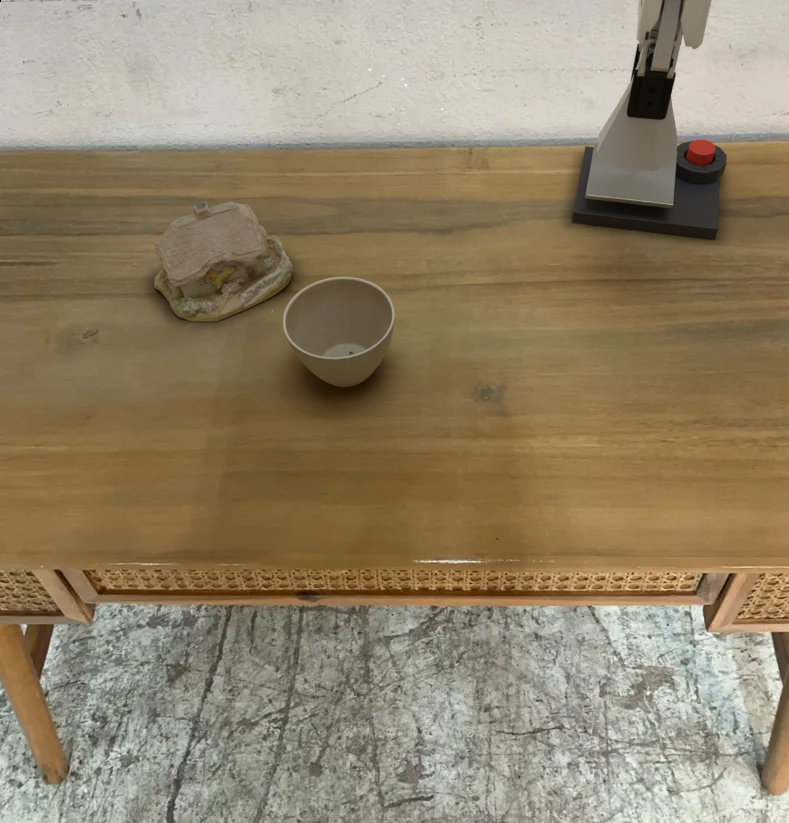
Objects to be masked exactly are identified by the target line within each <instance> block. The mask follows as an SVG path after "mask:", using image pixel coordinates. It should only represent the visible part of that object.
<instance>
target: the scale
mask: <svg viewBox="0 0 789 823" xmlns="http://www.w3.org/2000/svg"><path fill="white" fill-rule="evenodd" d="M692 141H693V140H690V141H689V140H688V141H685V142H680V143H679V145H677V161H676V175H675V188H674V202H673V208H665V207H656V206H647V205H638V204H630V203H621V202H612V201H604V200H595V199H586V198H585V196H586V190H587V185H588V179H589V173H590V167H591V161H592V156H593V150H594V146H589V145H588V146H587V145H585V146H584V152H583V155H582V156H583V157H582V163H581V168H580V172H579V173H580V174H579V179H578V184H577V188H576V195H575V201H574V206H573V212H572V217H571V223H574V224H575V223H576V224H584V225H593V226H601V227H610V228H616V229H625V230H633V231H642V232H650V233H658V234H659V233H660V234H667V235H675V236H683V237H691V238H701V239H707V240H715V239H716V237H717V234H718V230H719V208H720V203H719V202H720V178H721V177H722V176H724V173H725V169H726V167H727V160H728V159H727V158H728V155H727V154H726V152H725V151H724V150H723V149H722V148H721V147H720V146H718V145H716V144H714V145H715V147H716V150H715V153H714V157H713V160H712V162H711V163H710V164H709V165H706V166H700V165H694V164H692V163H690V162H688V161H687V160H686V155H687V152H688V148H689V145H690V143H691V142H692Z"/></svg>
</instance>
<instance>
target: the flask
mask: <svg viewBox="0 0 789 823" xmlns="http://www.w3.org/2000/svg"><path fill="white" fill-rule="evenodd" d="M651 33H658V31H651ZM638 44H639V51H640V52H642V47H643V45H642V44H641V43H640V42H639V41H638ZM654 51H655V47H654V46H650V50H649V55H650V53H654ZM649 55H648V56H649ZM640 58H641V53H640ZM640 58H639V62H638V64H637V67H636V69H638V68H639V63H640ZM633 76H634V75H633ZM630 81H631V82H629V83H628V85H627V87H626V89H625V91H624V93H623V94H622V96H621V97H620V99H619V101H618V103H617V104H616V106H615V108H614V109H613V110H612V112H611V113H610V116H609V117H608V119H607V120H606V122H605V123H604V126H603V127H602V129H601V130H600V132H599V133H598V139H597V145H598V146H597V153H596V154H598V155H600V156H601V157H603V158H605V159H607V160H609V161H610V162H612V163H614V164H616V165H617V166H619V167H621V168H627V169H638V170H649V171H656V170H658V169H659V168H661V167H662V166H664V165H665V164H667V163H668V162H670V161H671V160H673V159H674V158H676V157H677V146H678V132H677V125H676V120H675V114H674V108H673V100H672V99H673V98H672V97H671V98H670V102H669V106H668V111H667V115H666V118H665V119H663V120H655V119H643V118H632V117H628V116H627V107H628V102H629V97H630V92H631V86H632V81H633V77H632V80H631V79H630Z"/></svg>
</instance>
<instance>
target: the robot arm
mask: <svg viewBox="0 0 789 823" xmlns="http://www.w3.org/2000/svg"><path fill="white" fill-rule="evenodd" d="M711 5H712V0H638V4H637V24H636V28H637V29H636V40H637V41H638V43H637V44H636V50H635V55H634V60H633V66H632V70H631V76H630V80H629V81H630V82H631V80H632V77H633V81H632V86H631V92H630V97H629V102H628V107H627V116H628V117H632V118H643V119H655V120H663V119H665V118H666V115H667V111H668V106H669V102H670V98H671V99H672V93H673V90H674V85H675V80H676V76H677V72H676V67H677V63H678V59H679V58H678V57H679V55H680V54H679V53H680V49H681V46H682V42H683V41H684V45H685V47H687V48H692V50H696V49H698V48H699V47H701V46H702V44H703V42H704V38H705V37H704V36H705V32H706V28H707V24H708V23H707V22H708V19H709V18H708V17H709V14H710V9H711ZM651 31H658V33H651ZM682 40H683V41H682ZM639 42H640V43H641V44H642V45H643V47H642V52H640V51H639ZM650 46H654V47H655V51H654V53H650V55H649V50H650ZM640 53H641V58H640ZM648 55H649V56H648ZM639 58H640V63H639V68H638V69H636V67H637V64H638V62H639ZM633 75H634V76H633ZM630 82H629V83H630Z"/></svg>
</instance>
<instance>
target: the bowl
mask: <svg viewBox="0 0 789 823" xmlns="http://www.w3.org/2000/svg"><path fill="white" fill-rule="evenodd" d="M289 300H290V301H289V302H288V303H287V305H286V306H285V309H284V312H283V316H282V329H283V332H284V335H285V338H286V339H287V342H288V344H289V346H290V347H291V349H292V351H293V352H294V353H295V355H296V357H297V358H298V359H299V361H300V362H301V364H303V366H305V368H307V369H308V371H310V372H311V373H312V374H313V375H314V376H316V377H317V378H318V379H319V380H321V381H323V382H325V383H328V384H330V385H332V386H333V387H339V388H351V387H354V386H357V385H360V384H362V383H363V382H364V381H366V380H368V378H369V377H370V376H372V375H373V373H374V372H375V371H376V369H377V368H378V367H379V366H380V364H381V362H382V361H383V359H384V357H385V355H386V354H387V350H388V348H389V346H390V343H391V340H392V336H393V332H394V326H395V315H396V314H395V313H396V312H395V306H394V304H393V301H392V298H391V297H390V295H389V294H388V293H387V292H386V291H385V290H384V289H383V288H381V287H380V286H379V285H377V284H376V283H374V282H372V281H369V280H367V279H364V278H360V277H355V276H333V277H328V278H324V279H321V280H317V281H314V282H313V283H311V284H308V285H307V286H305V287H304V288H302V289H301V290H299V291H298V292H297V293H295V294H294V296H293V297H292V298H291V299H289Z"/></svg>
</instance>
